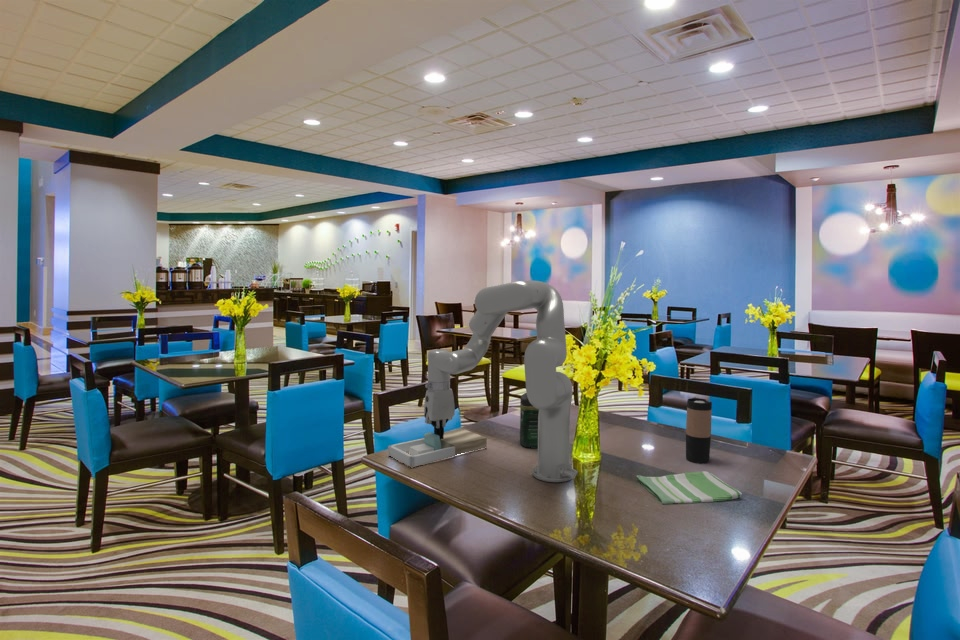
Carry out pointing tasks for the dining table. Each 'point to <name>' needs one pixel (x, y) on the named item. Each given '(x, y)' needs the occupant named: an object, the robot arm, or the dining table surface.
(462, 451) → the birch board
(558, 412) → the robot arm
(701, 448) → the travel mug
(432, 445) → the teal tile
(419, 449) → the white tile
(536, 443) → the coffee jar
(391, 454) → the tray
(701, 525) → the dining table surface
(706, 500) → the dish towel
